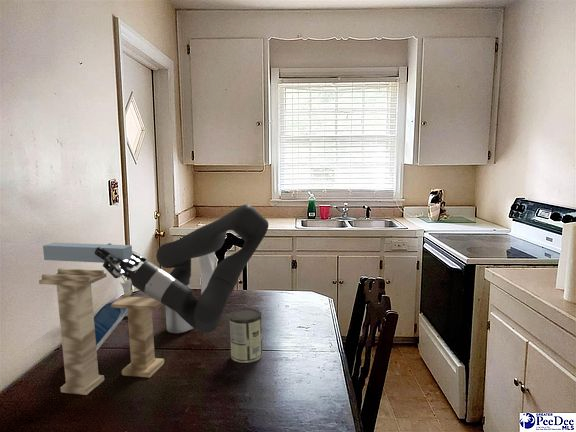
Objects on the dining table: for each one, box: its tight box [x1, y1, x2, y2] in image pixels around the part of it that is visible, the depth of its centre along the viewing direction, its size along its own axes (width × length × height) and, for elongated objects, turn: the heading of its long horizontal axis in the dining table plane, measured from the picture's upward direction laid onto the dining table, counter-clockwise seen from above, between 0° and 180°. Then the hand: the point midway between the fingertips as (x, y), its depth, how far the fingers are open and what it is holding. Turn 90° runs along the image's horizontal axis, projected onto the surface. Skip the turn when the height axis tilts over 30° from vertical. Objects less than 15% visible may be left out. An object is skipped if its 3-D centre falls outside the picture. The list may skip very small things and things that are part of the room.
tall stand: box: [38, 267, 108, 396], centre depth 121 cm, size 14×9×33 cm, turn 78°
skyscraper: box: [198, 251, 216, 296], centre depth 189 cm, size 8×8×28 cm
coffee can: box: [228, 308, 263, 364], centre depth 140 cm, size 10×10×14 cm
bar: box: [42, 242, 133, 264], centre depth 117 cm, size 24×4×4 cm, turn 78°
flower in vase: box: [118, 263, 132, 317], centre depth 179 cm, size 13×11×25 cm
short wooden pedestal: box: [111, 295, 165, 379], centre depth 131 cm, size 14×9×22 cm, turn 78°
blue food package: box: [94, 287, 137, 351], centre depth 139 cm, size 6×12×25 cm
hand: (102, 248), depth 116 cm, fingers closed on bar, 4 cm apart
